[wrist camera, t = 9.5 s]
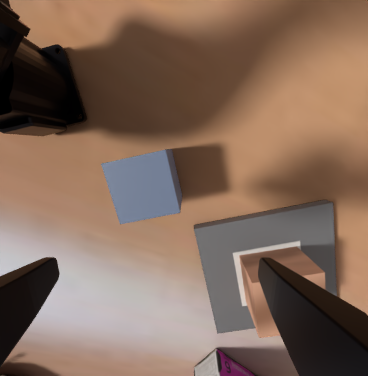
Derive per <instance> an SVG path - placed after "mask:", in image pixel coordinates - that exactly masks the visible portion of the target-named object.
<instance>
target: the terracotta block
mask: <svg viewBox="0 0 368 376" xmlns="http://www.w3.org/2000/svg"><path fill="white" fill-rule="evenodd" d="M261 257H270V258H272V259H274V260H275V261H277V262H279V263H281V264H282V265H284V266H286V267H287V268H289V269H291V270H293V271H294V272H296V273H298V274H299V275H301V276H303V277H305V278H306V279H308V280H310V281H311V282H313V283H315V284H317V285H318V286H320V287H322V288H323V289H325V272H324V271H323V270H322V269H321V268H319V267H318V266H317V265H316V264H315V263H314V262H313V261H312V260H311V259H310V258H309V257H308V256H307V255H305V254H304V253H303V252H302V251H301V250H300V249H299V248H298V247H297V246H296V247H289V248H283V249H277V250H270V251H264V252H258V253H251V254H245V255H239V258H240V265H241V271H242V278H243V285H244V292H245V299H246V303H247V306H248V309H249V311H250V314H251V317H252V319H253V322H254V325H255V328H256V330H257V333H258V336H259V338H263V337H271V336H279V335H280V333H279V331H278V329H277V327H276V324H275V322H274V320H273V318H272V315H271V313H270V310H269V307H268V304H267V302H266V299H265V296H264V293H263V290H262V287H261V284H260V282H259V279H258V268H259V260H260V258H261Z"/></svg>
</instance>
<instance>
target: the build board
mask: <svg viewBox="0 0 368 376" xmlns="http://www.w3.org/2000/svg"><path fill="white" fill-rule="evenodd" d="M194 231H195V236H196V240H197V245H198V249H199V254H200V258H201V263H202V267H203V271H204V276H205V280H206V285H207V289H208V294H209V298H210V303H211V307H212V311H213V316H214V320H215V325H216V329H217V334H218V333H225V332H232V331H239V330H245V329H252V328H255V325H254V322H253V319H252V317H251V314H250V311H249V309H248V306H247V303H246V299H245V292H244V285H243V278H242V271H241V265H240V258H239V255H245V254H251V253H258V252H264V251H270V250H277V249H283V248H289V247H296V246H297V247H298V248H299V249H300V250H301V251H302V252H303V253H304V254H305V255H307V256H308V257H309V258H310V259H311V260H312V261H313V262H314V263H315V264H316V265H317V266H318V267H319V268H321V269H322V270H323V271H324V272H325V290H327V291H329V292H330V293H332V294H334V295H335V296H337V289H336V264H335V239H334V213H333V202H330V201H328V200H321V201H316V202H311V203H305V204H300V205H295V206H290V207H285V208H280V209H274V210H269V211H264V212H259V213H254V214H248V215H243V216H238V217H233V218H228V219H223V220H217V221H212V222H207V223H202V224H197V225H194Z"/></svg>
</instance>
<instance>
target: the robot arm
mask: <svg viewBox="0 0 368 376" xmlns="http://www.w3.org/2000/svg"><path fill="white" fill-rule="evenodd" d="M19 18H20V16H19V15H17V14H16V13H15V12H14V11H13V10H12V9H11V7H10V4H9V0H0V132H2V133H5V134H19V135H33V136H46V135H50V134H54V133H58V132H62V131H66V129H67V126H71V125H75V124H79V123H83V122H85V121H86V119H87V116H86V113H85V110H84V106H83V103H82V100H81V97H80V94H79V91H78V88H77V84H76V81H75V78H74V75H73V72H72V69H71V66H70V63H69V59H68V56H67V53H66V51H65V49H64V48H63V47H61V46H60V45H58V44H57V45H52V46H49V47H45V48H42V49H41V48H39V47H38V46H36V45H35V44H33V43H32V42H30V41H29V40H27V39H26V38H24V36H25V37H27V35H28V33H29V31H30V28H28V27H27V26H26V25H25V24H24V23H22V22H21V21H20V20H19ZM59 50H61V52H60V54H58V51H59ZM80 114H81V115H82V118H81V119H80V118H79V115H80ZM58 278H59V269H58V264H57V260H56V258H54V257H46V258H42V259H40V260H38V261H35V262H33V263H31V264H28V265H26V266H23V267H21V268H19V269H16V270H14V271H12V272H9V273H7V274H5V275H2V276H0V367H1V366H2V364H3V363H4V361H5V360H6V358H7V357H8V356H9V354H10V353H11V351H12V350H13V348H14V347H15V346H16V344H17V343H18V341H19V340H20V339H21V337H22V336H23V334H24V333H25V331H26V330H27V329H28V327H29V326H30V324H31V323H32V321H33V320H34V318H35V317H36V315H37V314H38V312H39V311H40V309H41V307H42V306H43V304H44V302H45V301H46V299H47V297H48V295H49V294H50V292H51V290H52V289H53V287H54V285H55V284H56V282H57V280H58ZM258 279H259V282H260V284H261V287H262V290H263V293H264V296H265V299H266V302H267V304H268V307H269V310H270V313H271V315H272V318H273V320H274V322H275V324H276V327H277V329H278V331H279V333H280V335H281V337H282V340H283V342H284V344H285V346H286V348H287V350H288V353H289V355H290V357H291V359H292V361H293V363H294V366H295V368H296V370H297V372H298V374H299V376H368V316H367V314H366V313H364V312H363V311H361V310H359V309H358V308H356V307H354V306H352V305H351V304H349V303H347V302H346V301H344V300H342V299H341V298H339V297H337V296H335V295H334V294H332V293H330V292H329V291H327V290H325V289H323V288H322V287H320V286H318V285H317V284H315V283H313V282H311V281H310V280H308V279H306V278H305V277H303V276H301V275H299V274H298V273H296V272H294V271H293V270H291V269H289V268H287V267H286V266H284V265H282V264H281V263H279V262H277V261H275V260H274V259H272V258H270V257H261V258H260V260H259V268H258Z"/></svg>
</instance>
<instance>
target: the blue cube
mask: <svg viewBox="0 0 368 376" xmlns="http://www.w3.org/2000/svg"><path fill="white" fill-rule="evenodd" d="M101 165H102V168H103V171H104V175H105V178H106V181H107V184H108V187H109V190H110V194H111V197H112V200H113V203H114V206H115V209H116V213H117V216H118V219H119V222H120V224H124V223H129V222H134V221H139V220H145V219H150V218H155V217H160V216H165V215H170V214H176V213H180V210H181V202H182V192H181V188H180V184H179V179H178V175H177V170H176V166H175V161H174V157H173V152H172V149H167V150H162V151H157V152H153V153H148V154H144V155H139V156H135V157H130V158H125V159H121V160H116V161H112V162H107V163H103V164H101Z"/></svg>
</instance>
